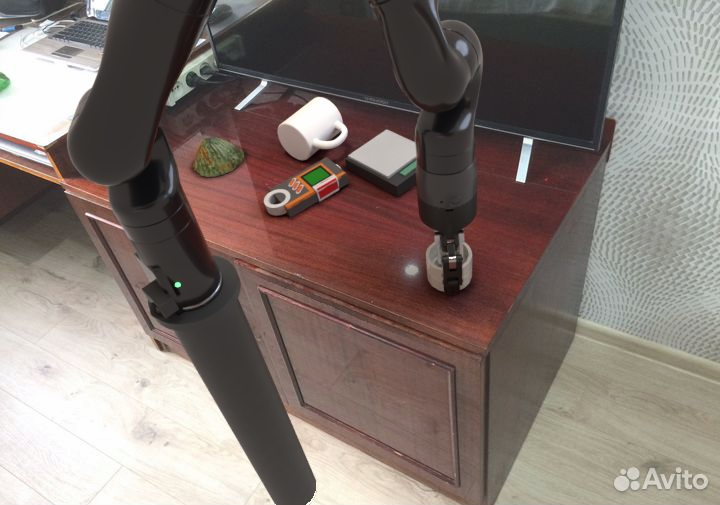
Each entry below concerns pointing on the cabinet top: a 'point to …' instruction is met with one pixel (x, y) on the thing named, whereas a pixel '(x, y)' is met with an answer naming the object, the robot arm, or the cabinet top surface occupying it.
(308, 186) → the electronic device
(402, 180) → the scale
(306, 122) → the mug
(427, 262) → the beige cylindrical cup
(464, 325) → the cabinet top surface
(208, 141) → the seashell
